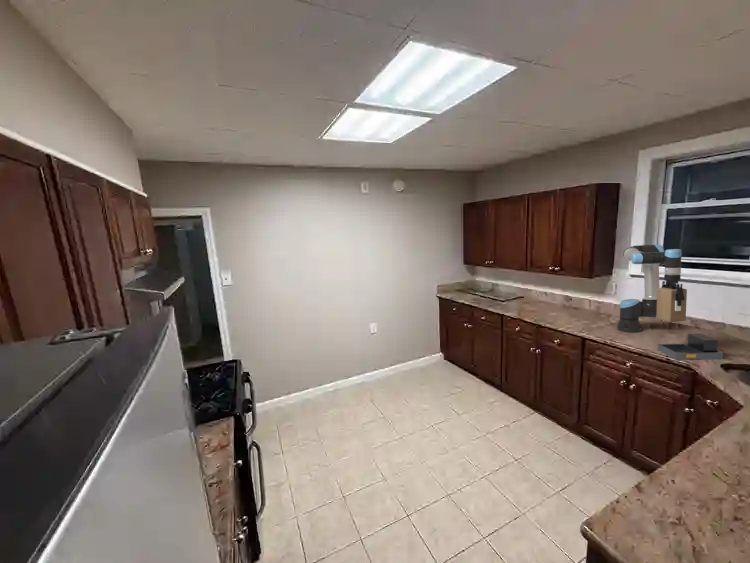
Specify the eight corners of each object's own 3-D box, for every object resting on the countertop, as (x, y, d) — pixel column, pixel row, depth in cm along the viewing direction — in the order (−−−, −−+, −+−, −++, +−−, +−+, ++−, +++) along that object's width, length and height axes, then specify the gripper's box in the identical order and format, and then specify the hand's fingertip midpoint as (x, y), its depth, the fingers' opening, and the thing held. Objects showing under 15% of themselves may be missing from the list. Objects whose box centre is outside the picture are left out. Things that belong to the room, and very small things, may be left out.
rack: (657, 350, 210) (658, 333, 209) (700, 349, 206) (701, 332, 205) (676, 360, 194) (677, 342, 193) (723, 359, 190) (724, 341, 189)
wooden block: (671, 317, 212) (672, 286, 209) (686, 320, 202) (687, 289, 199) (655, 318, 212) (656, 287, 209) (670, 322, 202) (671, 290, 199)
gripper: (653, 272, 215) (652, 305, 218) (679, 276, 192) (677, 313, 195) (666, 271, 214) (665, 304, 216) (693, 276, 191) (692, 312, 194)
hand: (671, 308), depth 206 cm, fingers closed on wooden block, 11 cm apart
